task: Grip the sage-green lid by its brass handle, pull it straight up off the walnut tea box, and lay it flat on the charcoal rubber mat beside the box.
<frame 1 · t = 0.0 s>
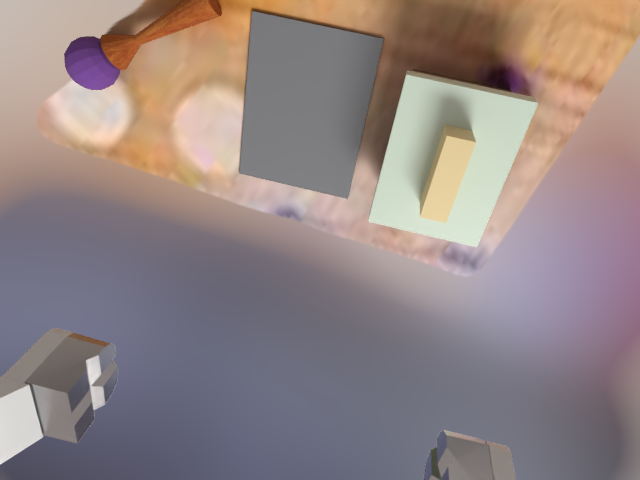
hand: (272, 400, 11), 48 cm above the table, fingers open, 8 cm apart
mat: (304, 112, 57), on the table
lid: (443, 160, 51), point 6 cm above the table, touching box
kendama: (151, 35, 55), on the table
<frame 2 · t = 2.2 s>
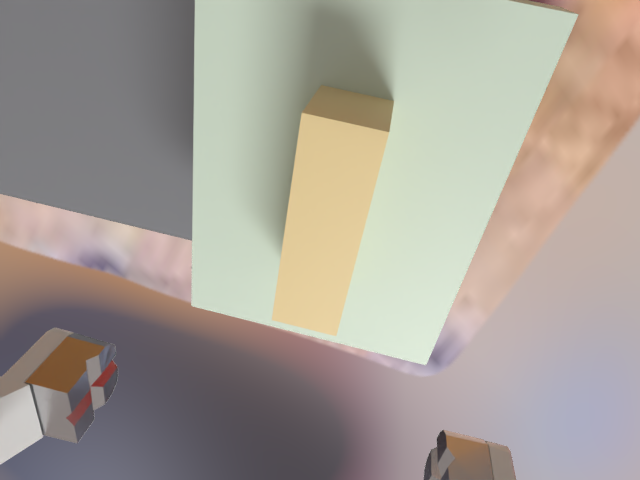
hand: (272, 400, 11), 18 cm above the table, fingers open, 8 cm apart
mat: (77, 71, 27), on the table
lid: (342, 176, 22), point 6 cm above the table, touching box
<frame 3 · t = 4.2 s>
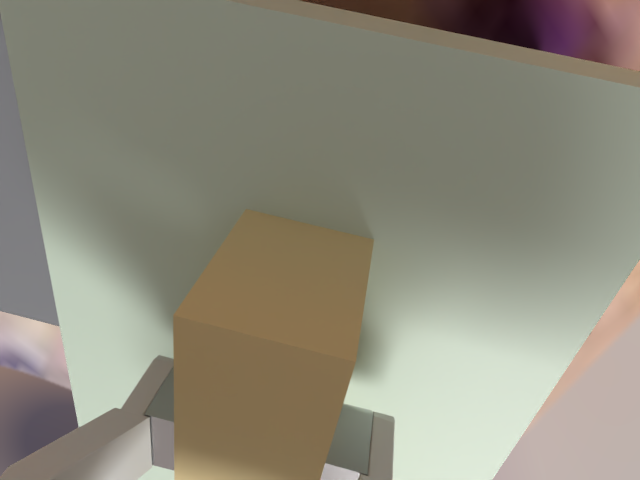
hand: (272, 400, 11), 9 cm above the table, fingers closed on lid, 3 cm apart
lid: (300, 314, 14), point 6 cm above the table, touching box, gripper
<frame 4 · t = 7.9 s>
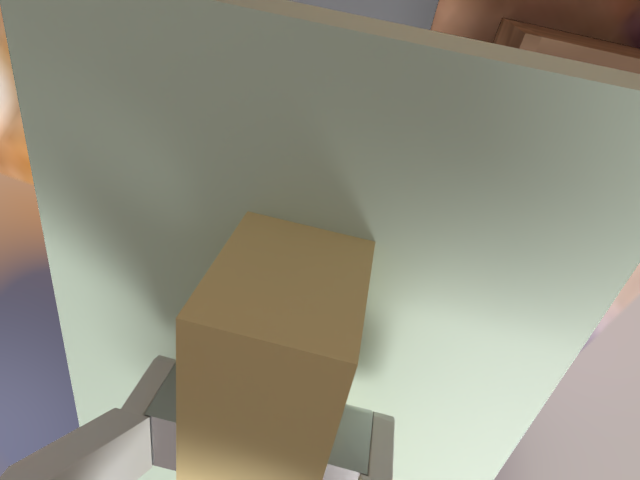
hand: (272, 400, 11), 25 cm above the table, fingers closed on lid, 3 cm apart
mat: (299, 96, 33), on the table
lid: (301, 315, 14), point 22 cm above the table, touching gripper
box: (538, 153, 32), on the table
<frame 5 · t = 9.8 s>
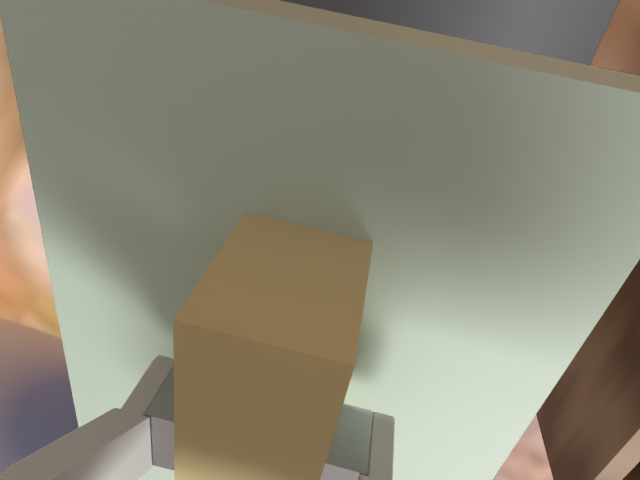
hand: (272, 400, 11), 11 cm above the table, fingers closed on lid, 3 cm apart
mat: (337, 200, 21), on the table
lid: (300, 316, 14), point 8 cm above the table, touching gripper
when the fingers open (6 cm above the table, at t = 11.6 s): lid drops 2 cm, resting on mat.
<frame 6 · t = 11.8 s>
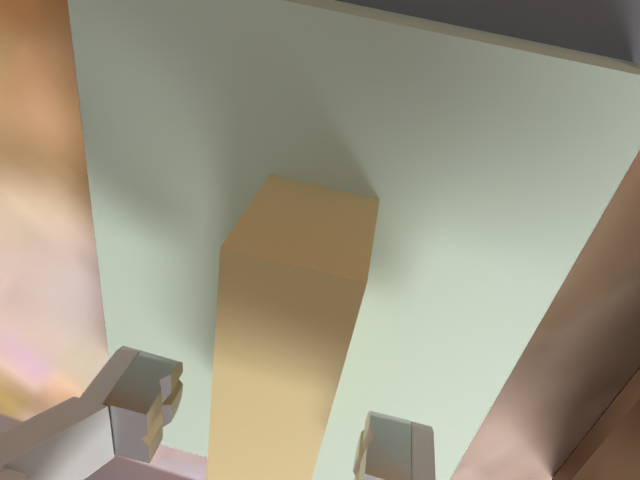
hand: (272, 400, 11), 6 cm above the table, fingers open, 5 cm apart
mat: (314, 271, 16), on the table
lid: (312, 277, 16), resting on mat
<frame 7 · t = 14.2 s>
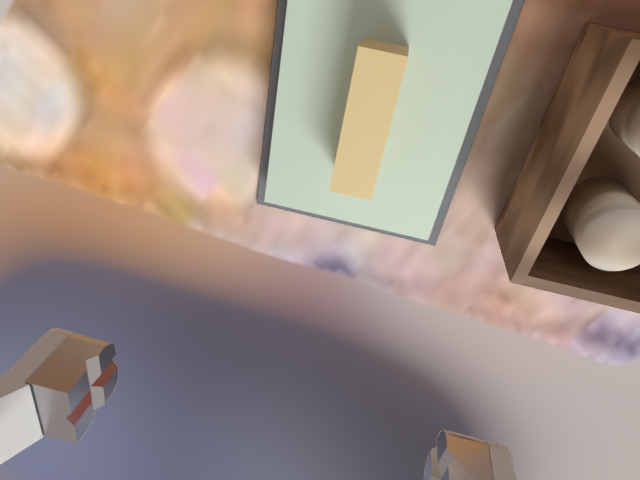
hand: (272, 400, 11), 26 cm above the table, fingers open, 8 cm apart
mat: (372, 103, 33), on the table
lid: (372, 104, 32), resting on mat
box: (614, 156, 32), on the table
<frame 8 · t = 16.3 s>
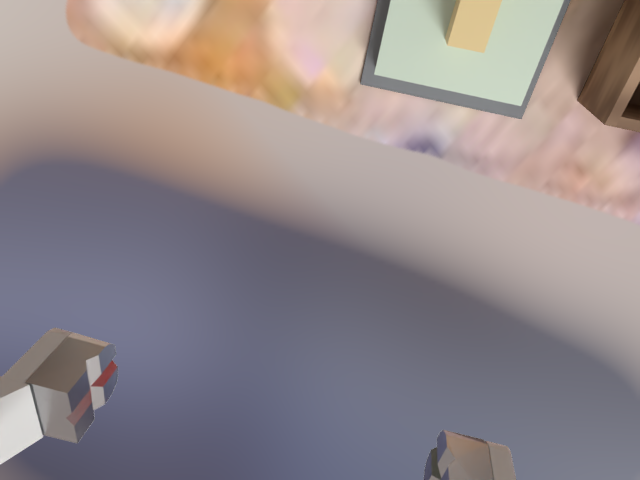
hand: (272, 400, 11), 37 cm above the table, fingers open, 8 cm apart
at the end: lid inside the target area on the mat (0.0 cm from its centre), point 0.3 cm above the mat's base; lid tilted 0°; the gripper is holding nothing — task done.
